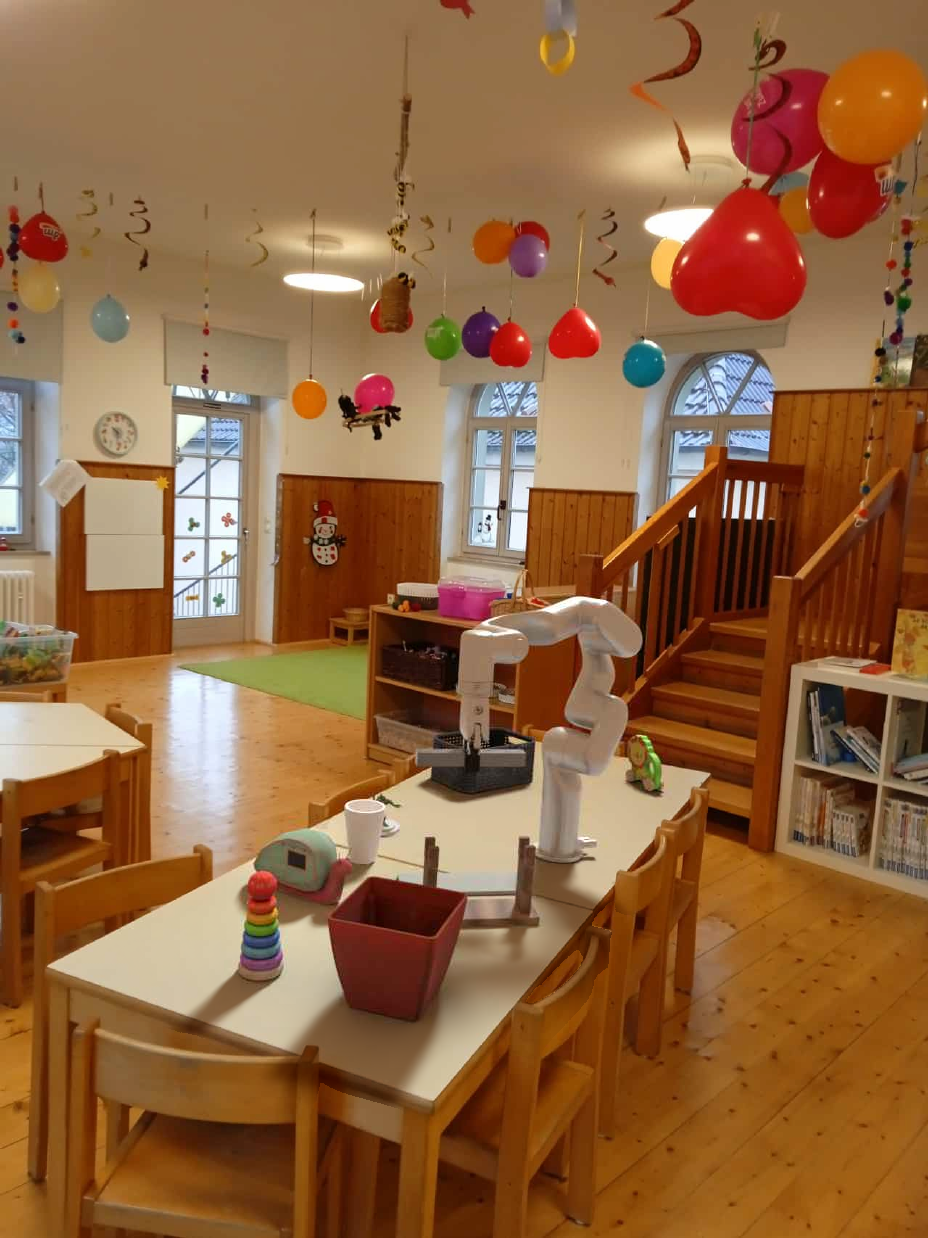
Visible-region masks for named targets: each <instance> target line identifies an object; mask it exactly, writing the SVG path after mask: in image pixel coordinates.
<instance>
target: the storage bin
mask: <svg viewBox="0 0 928 1238" xmlns="http://www.w3.org/2000/svg"><path fill="white" fill-rule="evenodd" d="M509 736H510V737H511V738H512V737H513V738H516V739H518V740H521V741H523V742H521V743H514V742H511V741H510V737H509ZM536 742H537V740H536V738H534V737H531V736H529V735H528V736H527V735H525V734H522V733H519V732H516V731H513V730H510V729H508V728H506V727H500V726H499V727H498V726H497V727H496V726H495V727H493V726H492V727H489V740H488V741H487V742H485V741H484V740H483V739H482V737H481V749H517V750H524V752H525V753H526V761H525V767H483V766H480V769H479V772H465V767H462V766H431V769H430V771H431V772H430V778H431V779H432V780H433V781H435V782H438V783H440V784H442V785H445V786H447V787H448V788H451V789H454V790H455V791H458V792H462V793H470V794H471V793H472V794H473V793H480V792H486V791H490V790H497V789H502V788H503V789H504V788H508V787H513V786H517V785H524V784H528V783H531V782H533V781H534V780H533V779H534V765H535V753H536ZM432 745H433V746H432V749H463V735H462V733H461V732H460V731H454V732H446V733H439V734H434V735H433V743H432Z"/></svg>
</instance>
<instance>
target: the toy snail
mask: <svg viewBox="0 0 928 1238" xmlns="http://www.w3.org/2000/svg"><path fill="white" fill-rule="evenodd" d="M351 849H352V848H350V850H351ZM349 853H350V851H349V852H348V853H347V855H346V857H344V858H340V855H341V852H340V853H338V854H337V847H336V844H335V841H333V840H332V838H331V837H330V836H329V835H328V834H327V833H324V832H322V831H320V830H316V829H310V828H301V829H297V830H292V831H288V832H284V833H282V834H281V835H279V836H277V837H276V838H274V839H273V840H271V841H269V842H268V843H266V844H265V845H263V846H262V848H261V850H260V851H259V852H258V854H257V855H256V858H255V860H254V862H253V869H254V870H255V873H257V872H259V871H266V872H269V873H271V874H272V875H273V876H274V877H275V879H276V882H277V888H276V890H277V891H280V892H283V893H285V894H286V893H287V894H289V895H291V896H295V897H297V898H300V899H303V900H306V901H310V902H313V903H316V904H321V905H333V904H337V903H338V902H339V901H340V900H341V899H342V895H343V891H344V886H345V881H346V877H347V876H349V875H351V874H352V873H353V870H354V868H353V865H352V862H351V861H350V860H348V858H349Z"/></svg>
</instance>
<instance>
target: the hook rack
mask: <svg viewBox="0 0 928 1238" xmlns="http://www.w3.org/2000/svg"><path fill="white" fill-rule="evenodd" d="M530 840H531V838H530V837H529V835H522V836H521V835H519V836H518V847H517V848H518V849H517V856H518V858H517V871H516V872H517V883H516V894H515V898H492V899H491V898H487V899H486V898H485V899H484V898H483V899H482V898H480V899H467V903H466V908H465V913H464V917H463V921H462V925H461V927H485V926H486V927H489V926H491V927H492V926H493V927H496V926H495V925H498V926H527V925H526V924H535V925H540V920H541V919H540V915H539V914H538V911H537V910H536V909H535V907H534V905H533V903H532V897H533V882H534V881H533V880H534V870H535V869H534V868H535V866H536V865H535V864H536V856H535V854H536V847H535V845H533V844H531V845H530V842H531V841H530ZM423 857H424V858H423V859H424V860H423V885H427V886H432V887H437V873H439V872H438V869H439V863H440V862H439V859H440V847H439V845H438V846H437V845H436V837H435V836H425V837H424V850H423ZM520 924H521V925H520ZM522 924H524V925H522Z"/></svg>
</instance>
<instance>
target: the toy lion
mask: <svg viewBox="0 0 928 1238" xmlns="http://www.w3.org/2000/svg"><path fill="white" fill-rule="evenodd" d="M626 754H627V756H628V757H627V758H628V762H629V763H630V764H631V769H627V770H626V772H625V779H626V781H627V780H628V781H627V782H634V781H638V780H640V781H639V782H642V781H643V782H644V783H643V785H644V790H648V791H647V792H653V790H656V789H658V790H657V791H662V790H663V789H664V787H665V782H664V780H663V779H662V773H663V771H662V770H663V769H662V764H661V759H660V758H659V756H658V755H657V754H656V753H655V751H654V747H653V744H652V742H651V740H649V738H648V736H647V735H642V734H636V735H634V736H631V737H630V739H629V741H627V749H626ZM651 763H652V764H651ZM651 765H652V766H653V770H652V768H651ZM641 780H642V781H641Z"/></svg>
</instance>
